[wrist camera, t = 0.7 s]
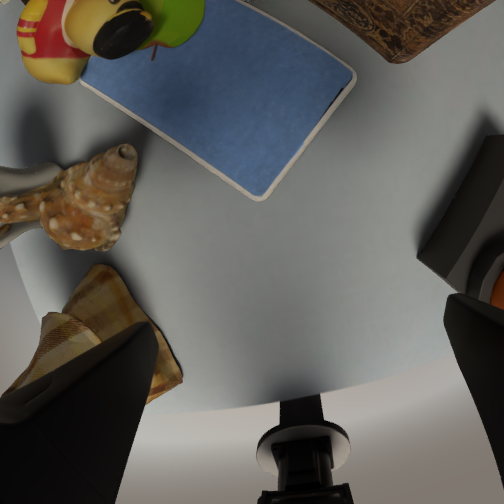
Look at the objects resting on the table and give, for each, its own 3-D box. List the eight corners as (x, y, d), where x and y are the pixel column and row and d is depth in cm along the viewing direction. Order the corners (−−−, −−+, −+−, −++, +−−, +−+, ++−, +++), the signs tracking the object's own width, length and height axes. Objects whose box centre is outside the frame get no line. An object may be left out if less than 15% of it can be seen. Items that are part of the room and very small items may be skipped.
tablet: (359, 78, 20) (364, 73, 19) (261, 206, 23) (260, 209, 22) (165, -27, 18) (161, -34, 17) (80, 83, 22) (72, 80, 20)
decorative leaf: (230, 15, 18) (232, 19, 19) (180, -51, 16) (182, -46, 17) (140, 68, 19) (145, 71, 20) (101, -2, 17) (105, 2, 18)
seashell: (95, 144, 26) (84, 99, 17) (155, 198, 29) (169, 175, 19) (32, 219, 24) (-8, 206, 15) (93, 275, 26) (76, 289, 17)
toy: (120, -33, 17) (203, -4, 17) (74, 66, 23) (140, 110, 23) (39, -48, 9) (120, -34, 9) (-6, 78, 15) (54, 132, 16)
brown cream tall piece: (95, 412, 30) (16, 585, 5) (26, 312, 28) (-137, 425, 3) (195, 367, 30) (178, 611, 6) (120, 249, 28) (-108, 359, 3)
